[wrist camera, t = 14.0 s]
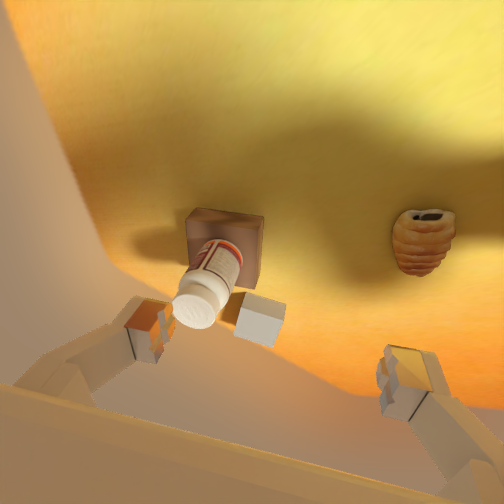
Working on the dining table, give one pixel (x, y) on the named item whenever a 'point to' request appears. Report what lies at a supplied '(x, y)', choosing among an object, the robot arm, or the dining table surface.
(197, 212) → the walnut block
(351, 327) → the dining table surface
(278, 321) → the grey block
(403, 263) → the pastry
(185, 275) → the pill bottle
